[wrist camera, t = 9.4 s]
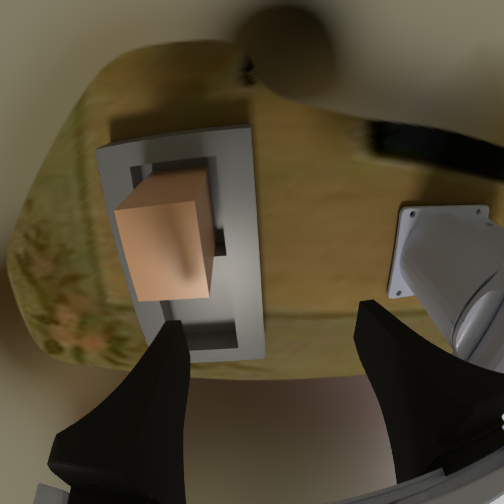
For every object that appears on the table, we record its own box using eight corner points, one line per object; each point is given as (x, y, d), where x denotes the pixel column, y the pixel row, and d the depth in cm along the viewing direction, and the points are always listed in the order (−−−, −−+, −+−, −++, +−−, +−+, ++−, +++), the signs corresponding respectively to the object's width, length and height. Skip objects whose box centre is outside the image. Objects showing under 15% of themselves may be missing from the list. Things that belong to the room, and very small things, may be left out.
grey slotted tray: (249, 123, 18) (251, 127, 16) (263, 337, 26) (265, 360, 24) (110, 142, 18) (93, 150, 16) (159, 342, 26) (154, 365, 24)
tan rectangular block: (208, 164, 19) (194, 201, 13) (216, 235, 21) (209, 297, 15) (151, 171, 19) (114, 210, 13) (164, 239, 21) (138, 301, 15)
